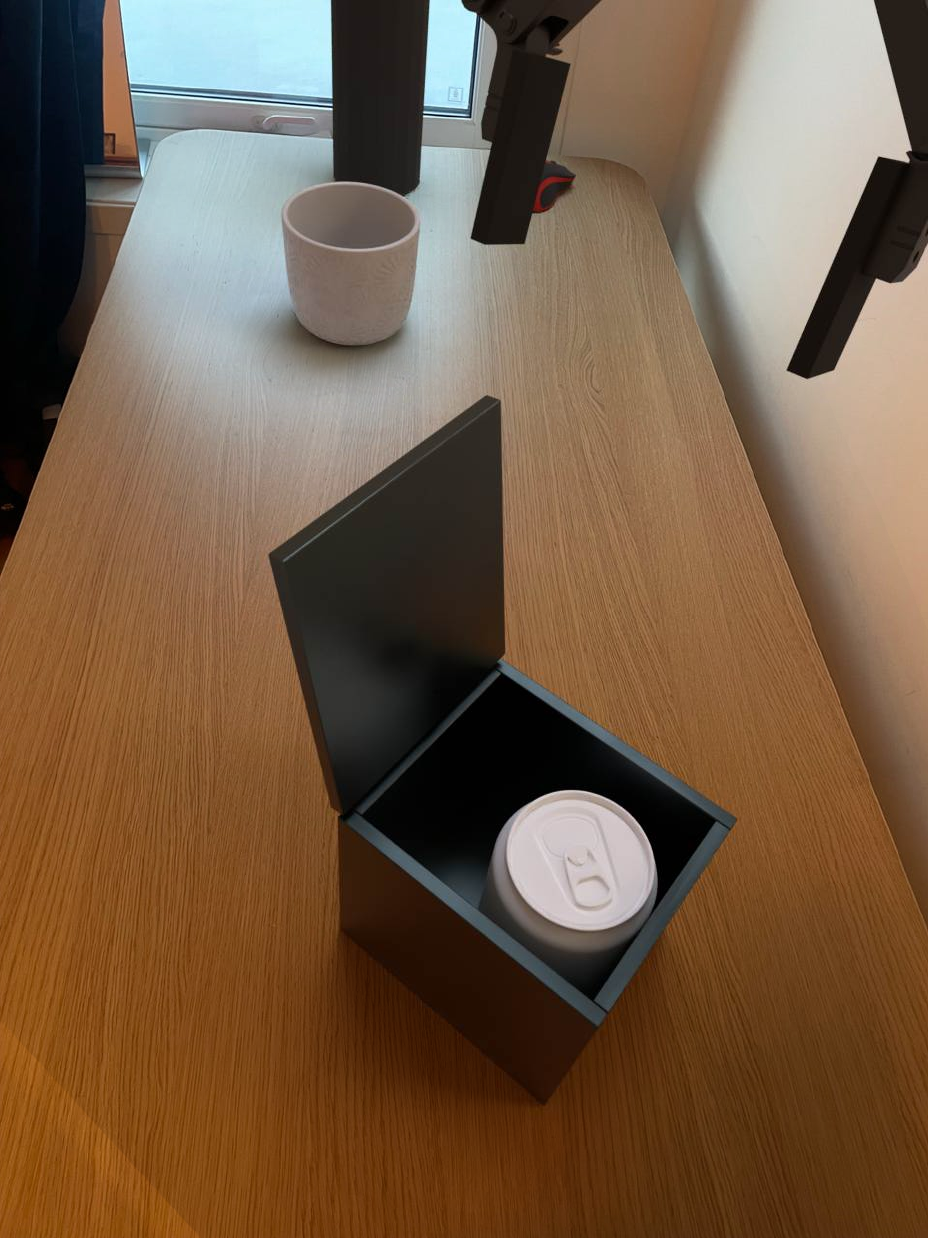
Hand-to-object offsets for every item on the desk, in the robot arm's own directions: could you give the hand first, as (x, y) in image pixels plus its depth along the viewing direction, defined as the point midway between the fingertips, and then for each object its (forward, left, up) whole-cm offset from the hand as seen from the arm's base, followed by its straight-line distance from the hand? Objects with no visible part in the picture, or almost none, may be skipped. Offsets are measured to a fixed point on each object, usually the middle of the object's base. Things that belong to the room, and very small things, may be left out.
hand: (640, 301), depth 34 cm
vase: (+60, -55, -35) cm, 89 cm away
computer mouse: (+45, -67, -35) cm, 88 cm away
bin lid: (+3, +8, -13) cm, 16 cm away
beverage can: (-8, +8, -34) cm, 36 cm away
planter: (+42, -31, -35) cm, 63 cm away
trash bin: (-6, +8, -35) cm, 36 cm away
